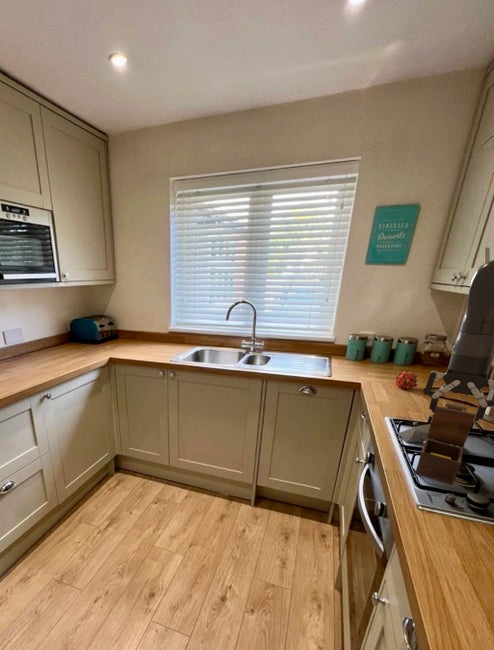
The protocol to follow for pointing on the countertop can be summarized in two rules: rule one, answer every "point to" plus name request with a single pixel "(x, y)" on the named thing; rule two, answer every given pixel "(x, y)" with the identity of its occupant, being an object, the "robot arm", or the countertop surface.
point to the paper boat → (415, 433)
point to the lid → (451, 424)
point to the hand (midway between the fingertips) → (454, 415)
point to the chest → (439, 461)
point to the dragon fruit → (406, 380)
